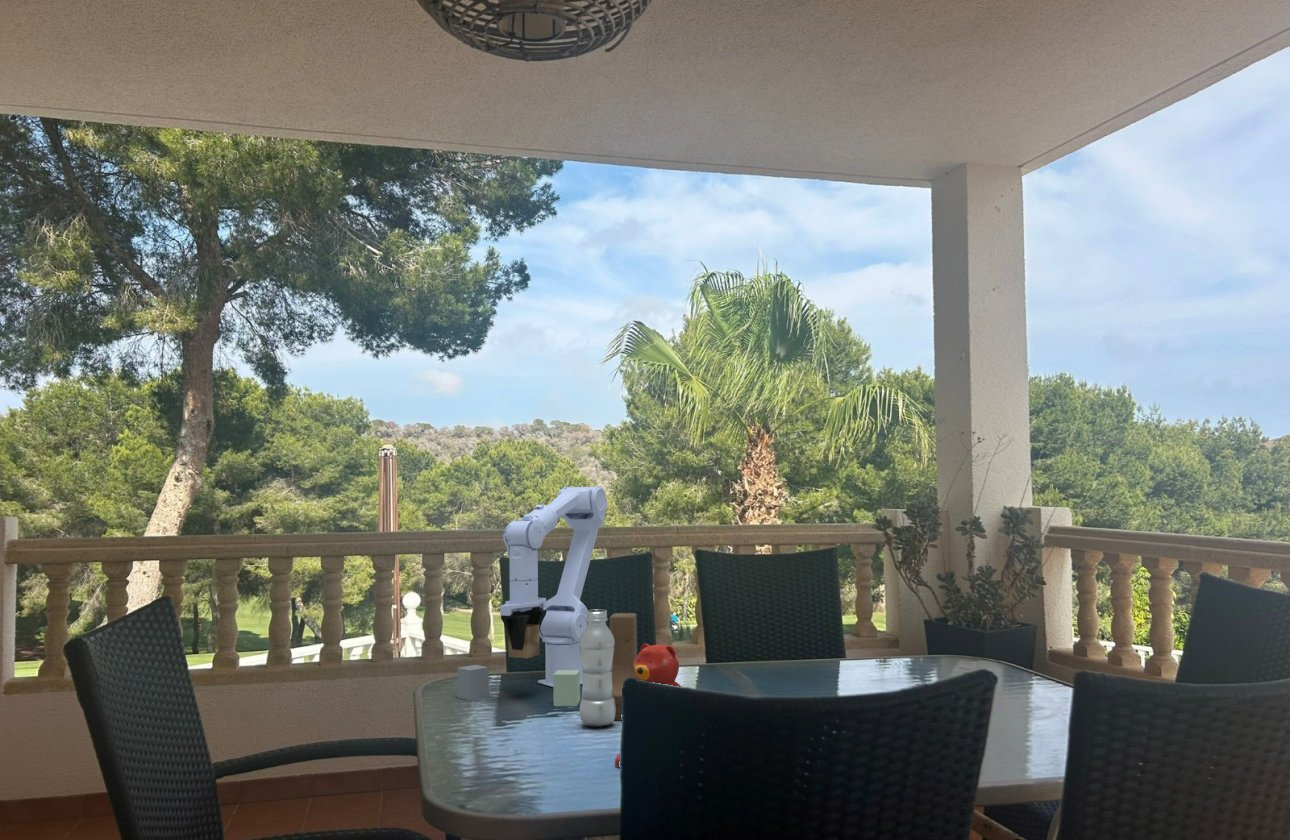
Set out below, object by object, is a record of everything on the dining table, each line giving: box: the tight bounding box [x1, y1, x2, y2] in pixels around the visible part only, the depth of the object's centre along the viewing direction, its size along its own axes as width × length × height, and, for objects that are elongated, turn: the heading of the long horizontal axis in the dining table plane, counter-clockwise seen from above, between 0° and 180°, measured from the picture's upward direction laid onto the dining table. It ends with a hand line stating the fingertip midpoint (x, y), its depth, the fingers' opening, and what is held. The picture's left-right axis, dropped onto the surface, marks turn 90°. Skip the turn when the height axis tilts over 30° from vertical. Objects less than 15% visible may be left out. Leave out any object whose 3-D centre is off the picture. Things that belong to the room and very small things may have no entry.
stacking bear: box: [614, 643, 682, 768], centre depth 140 cm, size 11×10×18 cm
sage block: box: [552, 670, 581, 707], centre depth 183 cm, size 4×4×6 cm
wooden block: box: [609, 612, 638, 721], centre depth 173 cm, size 9×4×18 cm, turn 173°
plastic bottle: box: [579, 609, 616, 728], centre depth 165 cm, size 6×7×20 cm
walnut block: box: [508, 624, 540, 659], centre depth 189 cm, size 4×4×6 cm
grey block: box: [456, 664, 490, 702], centre depth 190 cm, size 4×4×6 cm
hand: (524, 647), depth 189 cm, fingers closed on walnut block, 4 cm apart
